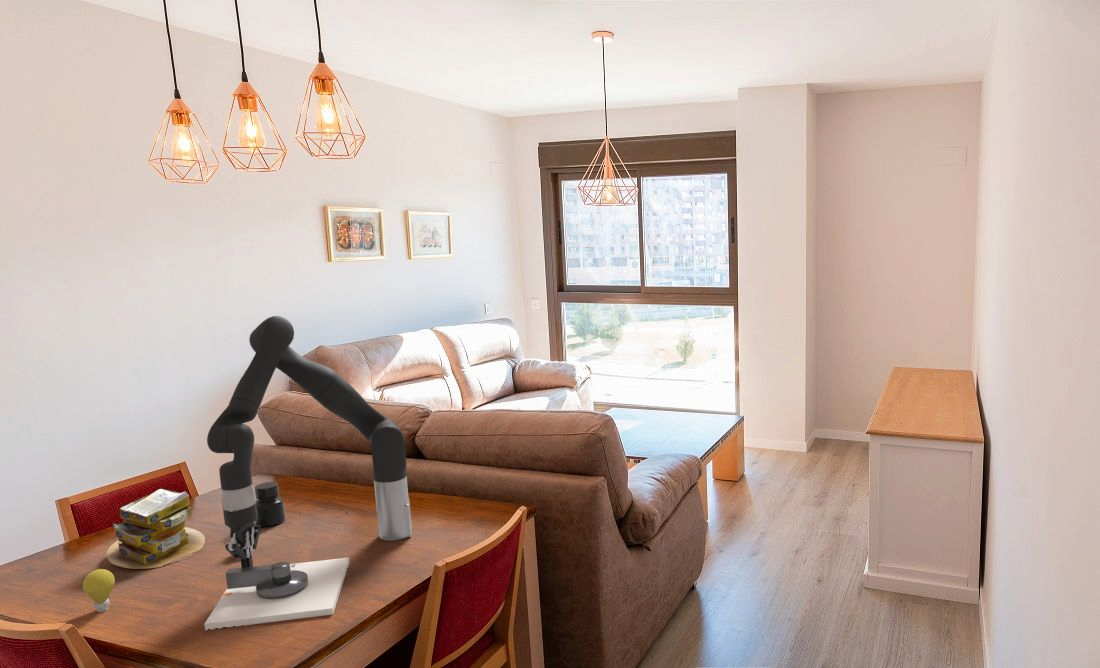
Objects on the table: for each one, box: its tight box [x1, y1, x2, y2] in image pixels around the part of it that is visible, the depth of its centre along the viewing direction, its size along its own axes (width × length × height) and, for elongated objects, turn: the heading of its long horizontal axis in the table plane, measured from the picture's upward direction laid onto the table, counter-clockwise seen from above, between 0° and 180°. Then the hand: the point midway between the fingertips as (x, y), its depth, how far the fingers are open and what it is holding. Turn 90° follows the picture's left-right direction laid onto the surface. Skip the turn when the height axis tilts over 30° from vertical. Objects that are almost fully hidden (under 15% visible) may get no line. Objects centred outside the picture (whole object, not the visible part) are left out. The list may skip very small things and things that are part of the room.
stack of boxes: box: [105, 488, 206, 570], centre depth 212 cm, size 25×25×17 cm
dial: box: [225, 561, 308, 599], centre depth 181 cm, size 18×12×6 cm, turn 96°
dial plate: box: [204, 557, 350, 631], centre depth 182 cm, size 28×28×2 cm
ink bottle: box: [254, 481, 286, 528], centre depth 230 cm, size 10×9×12 cm
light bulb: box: [82, 568, 116, 613], centre depth 179 cm, size 7×7×10 cm
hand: (247, 570), depth 184 cm, fingers closed
